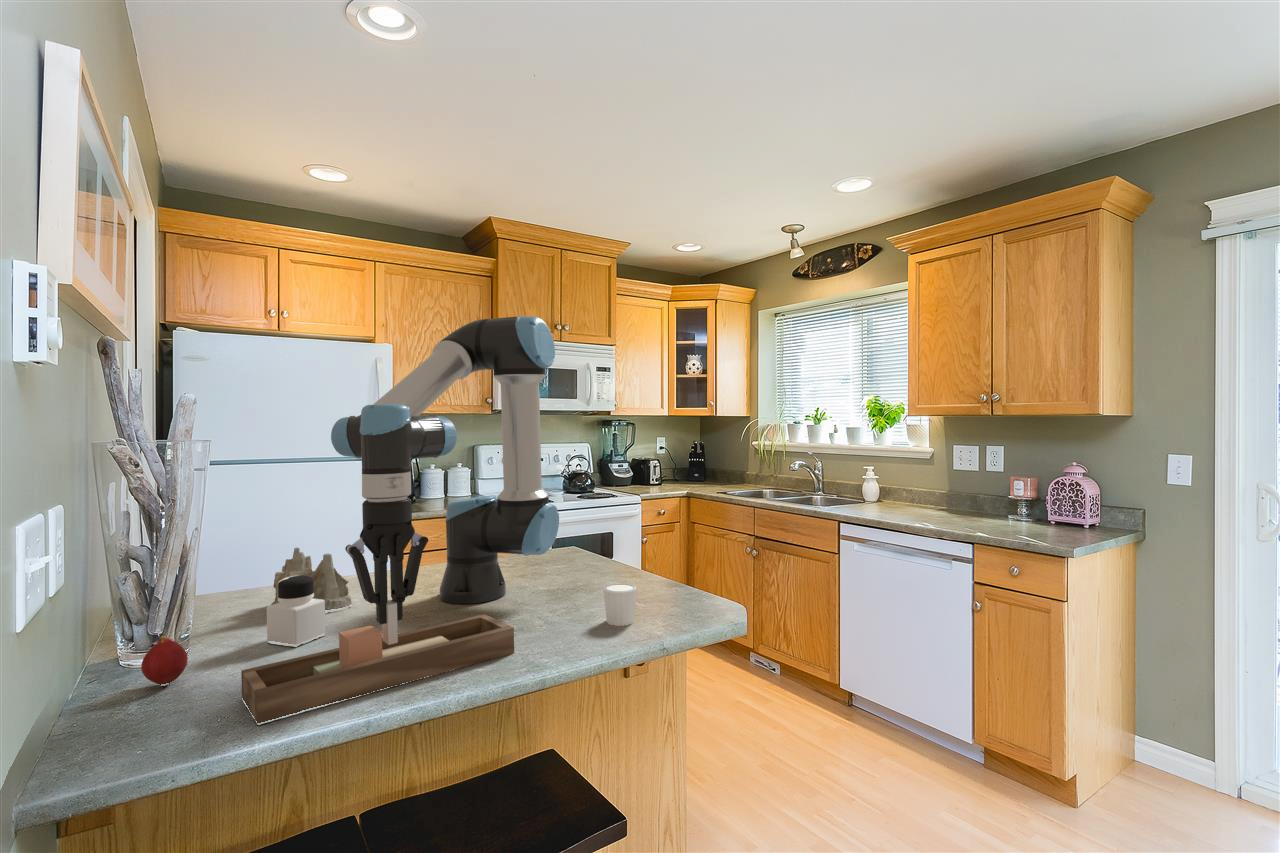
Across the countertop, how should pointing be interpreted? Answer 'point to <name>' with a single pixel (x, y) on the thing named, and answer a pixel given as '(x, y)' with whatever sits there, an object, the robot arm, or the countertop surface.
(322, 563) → the rock mountain model
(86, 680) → the countertop surface
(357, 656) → the block
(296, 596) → the medicine bottle
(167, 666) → the onion
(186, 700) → the countertop surface
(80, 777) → the countertop surface
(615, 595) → the white cup
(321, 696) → the brown wooden long tray
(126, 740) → the countertop surface
